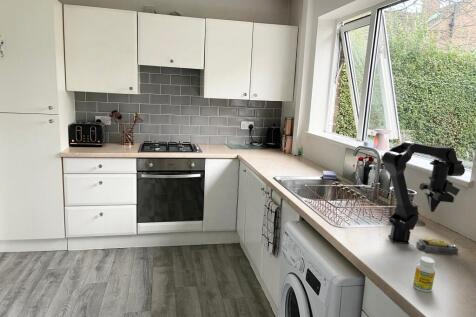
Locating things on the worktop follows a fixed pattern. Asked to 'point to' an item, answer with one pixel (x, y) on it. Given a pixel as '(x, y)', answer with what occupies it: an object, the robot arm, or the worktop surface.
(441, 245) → the gold block with knobs
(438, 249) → the open rectangular frame
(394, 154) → the robot arm
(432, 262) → the supplement bottle
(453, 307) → the worktop surface
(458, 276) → the worktop surface
